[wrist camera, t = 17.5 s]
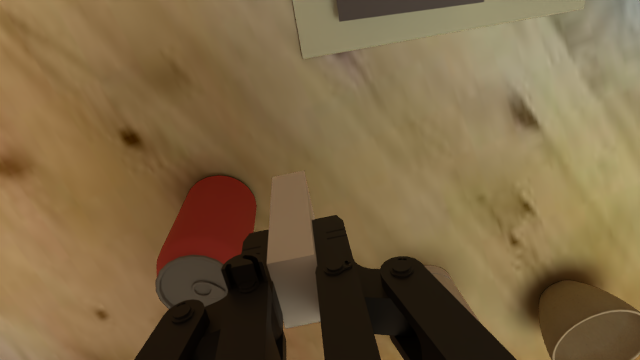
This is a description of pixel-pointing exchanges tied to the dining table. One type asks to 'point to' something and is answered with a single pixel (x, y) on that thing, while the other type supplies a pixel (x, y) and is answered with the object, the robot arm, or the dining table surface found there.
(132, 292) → the dining table surface
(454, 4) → the domino
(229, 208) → the beer can
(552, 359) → the flower pot
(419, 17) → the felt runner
